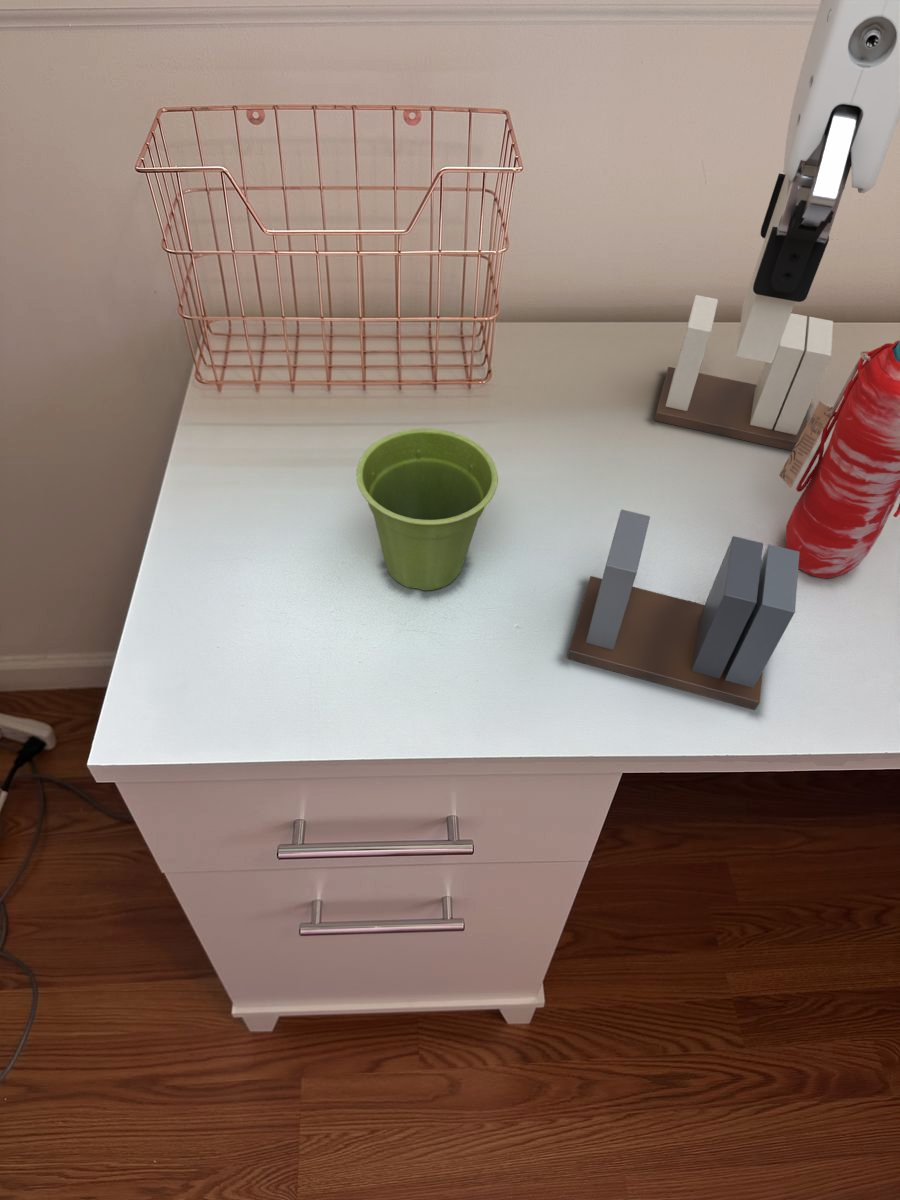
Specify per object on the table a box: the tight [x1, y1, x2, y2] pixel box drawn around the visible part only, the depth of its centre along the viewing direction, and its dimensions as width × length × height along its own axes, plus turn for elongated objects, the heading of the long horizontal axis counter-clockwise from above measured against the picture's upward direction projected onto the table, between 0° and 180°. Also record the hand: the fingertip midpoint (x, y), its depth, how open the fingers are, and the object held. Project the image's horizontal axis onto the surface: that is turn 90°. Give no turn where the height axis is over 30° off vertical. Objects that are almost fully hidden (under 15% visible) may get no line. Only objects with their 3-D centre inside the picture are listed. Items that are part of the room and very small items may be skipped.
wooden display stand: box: [653, 294, 834, 452], centre depth 92 cm, size 16×9×11 cm, turn 72°
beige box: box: [735, 165, 817, 364], centre depth 55 cm, size 2×6×10 cm, turn 163°
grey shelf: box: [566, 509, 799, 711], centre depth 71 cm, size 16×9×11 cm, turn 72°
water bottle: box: [778, 339, 900, 579], centre depth 73 cm, size 12×8×25 cm, turn 33°
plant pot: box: [355, 427, 499, 591], centre depth 76 cm, size 12×12×11 cm
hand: (781, 264), depth 55 cm, fingers closed on beige box, 6 cm apart
